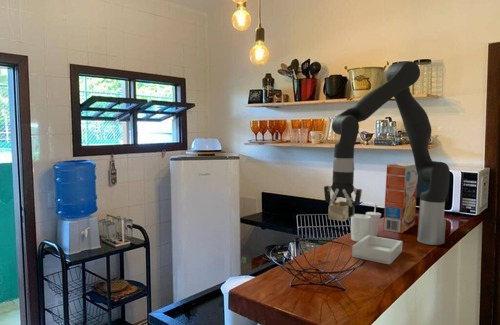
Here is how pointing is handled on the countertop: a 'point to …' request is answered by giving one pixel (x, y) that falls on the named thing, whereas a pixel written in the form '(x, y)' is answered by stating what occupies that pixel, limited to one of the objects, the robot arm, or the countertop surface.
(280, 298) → the countertop surface
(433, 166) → the robot arm
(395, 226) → the orange cereal box
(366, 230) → the white cup
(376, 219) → the smoothie
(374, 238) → the white crate
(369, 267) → the countertop surface
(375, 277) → the countertop surface
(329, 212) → the birch crate
